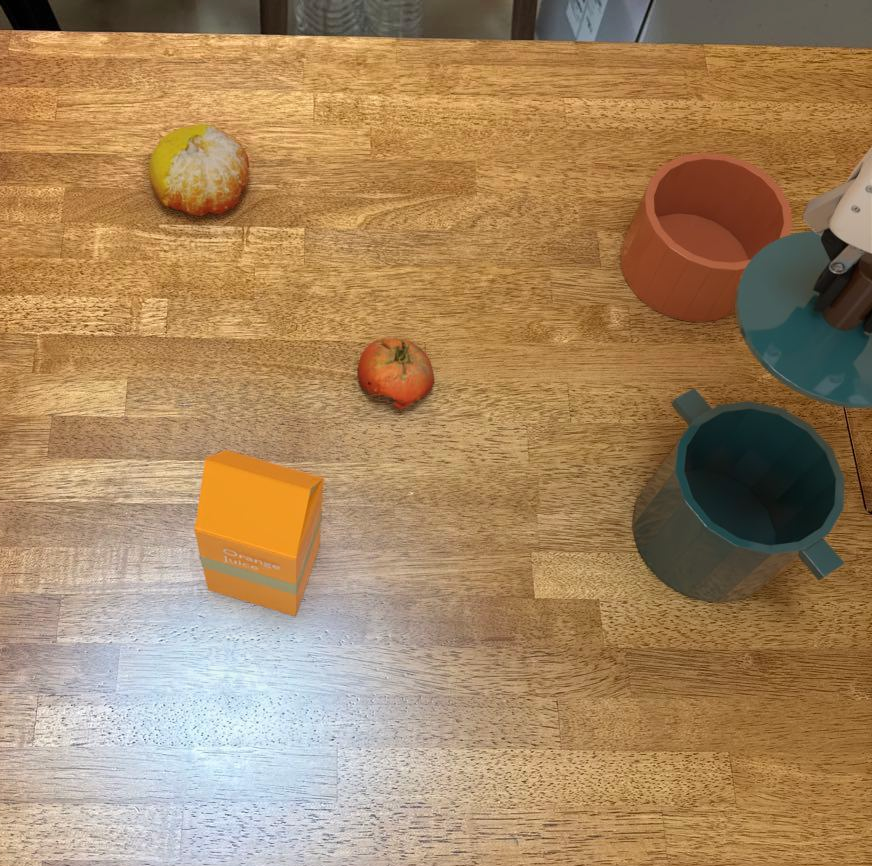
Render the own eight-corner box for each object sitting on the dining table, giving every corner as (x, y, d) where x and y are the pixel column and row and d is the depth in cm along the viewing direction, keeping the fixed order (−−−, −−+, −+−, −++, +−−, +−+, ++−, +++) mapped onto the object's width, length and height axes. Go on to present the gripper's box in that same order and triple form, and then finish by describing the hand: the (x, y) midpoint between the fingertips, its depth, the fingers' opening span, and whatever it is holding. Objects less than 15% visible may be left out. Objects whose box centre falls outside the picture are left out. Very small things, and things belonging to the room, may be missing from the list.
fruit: (182, 242, 111) (162, 177, 104) (145, 198, 117) (124, 134, 110) (272, 201, 113) (258, 135, 107) (231, 160, 119) (215, 95, 113)
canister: (696, 192, 116) (727, 132, 108) (783, 285, 112) (822, 230, 103) (592, 245, 113) (616, 188, 105) (678, 344, 108) (709, 292, 100)
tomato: (453, 396, 103) (411, 370, 98) (402, 435, 106) (358, 411, 101) (429, 339, 107) (387, 311, 102) (380, 378, 110) (337, 353, 105)
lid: (838, 211, 82) (882, 149, 75) (981, 352, 77) (1040, 298, 71) (689, 294, 78) (722, 236, 72) (829, 448, 73) (878, 400, 67)
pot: (698, 421, 105) (748, 354, 93) (830, 578, 98) (901, 526, 87) (585, 487, 101) (623, 425, 90) (715, 653, 95) (773, 609, 83)
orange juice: (296, 618, 95) (296, 533, 76) (206, 590, 96) (185, 500, 77) (320, 544, 98) (327, 445, 79) (233, 518, 99) (219, 415, 80)
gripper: (1159, 126, 59) (967, 314, 76) (883, 25, 61) (757, 229, 78) (1135, 217, 56) (941, 391, 73) (848, 107, 59) (725, 300, 76)
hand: (847, 306), depth 75 cm, fingers closed on lid, 3 cm apart
